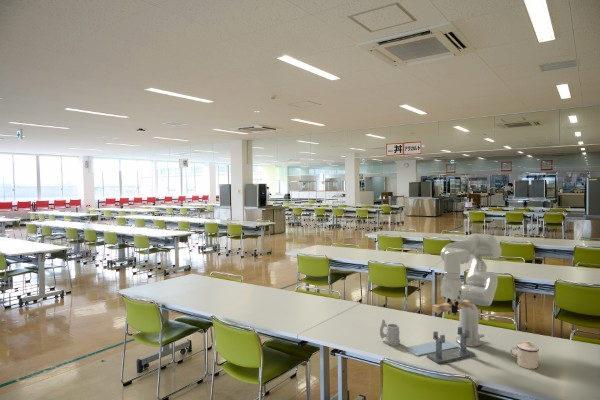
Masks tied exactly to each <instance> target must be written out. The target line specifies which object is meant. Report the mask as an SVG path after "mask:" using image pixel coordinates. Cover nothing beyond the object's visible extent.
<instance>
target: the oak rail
mask: <svg viewBox="0 0 600 400" xmlns="http://www.w3.org/2000/svg"><path fill="white" fill-rule="evenodd" d="M455 302H456V300H455ZM452 305H453V301H451V302H448V303H446V302H444V303H437V304H432V312H434V313H436V314H439V313H444V312H450V311H451V312H452ZM468 307H471V301H469V300H463V302H462V303H459V305H458V310H459V309H462V308H468Z"/></svg>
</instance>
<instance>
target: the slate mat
mask: <svg viewBox="0 0 600 400" xmlns="http://www.w3.org/2000/svg"><path fill="white" fill-rule="evenodd" d="M458 348H460V346H459V345H458V344H455V343H453V342H451V341H448V340H447V339H445V343H442V352H444V351H449V350H453V349H458ZM403 349H404V350H405V351H406V352H409V353H410V354H412V355H413V356H414V357H420V356H421V357H422V356H425V355H426V356H427V355H430V354H435V353H436V340H434V341H431V342H426V343H421V344H416V345H412V346H407V347H406V346H405V347H404V348H403Z"/></svg>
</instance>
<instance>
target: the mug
mask: <svg viewBox="0 0 600 400" xmlns="http://www.w3.org/2000/svg"><path fill="white" fill-rule="evenodd" d="M385 327H386V329H385ZM384 329H385V330H386V331H385V332H386V333H384ZM400 332H401V331H400V326H399V325H398V324H395V323H387V324H386V320H385V319H384V318H383V319H382V320H381V324H380V327H379V336H380V337H381V339H382V340H383V339H384V338H385V343H386V345H387V346H392V347H398V346H399V345H400V342H401V339H400V334H401V333H400Z"/></svg>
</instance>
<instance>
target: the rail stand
mask: <svg viewBox="0 0 600 400" xmlns="http://www.w3.org/2000/svg"><path fill="white" fill-rule="evenodd" d="M432 334H433V335H432V337H433V338H432V339H433V340H434V341H436V352H435V353H431V354H426V358H427V359H428V360H430V361H432V362H433V363H435V364H437V365H442V364H446V363H451V362H454V361H458V360H462V359H467V358H473V357H476V353H475V352H473V351H472V350H469V349H467V346H466V339H467V338H470V331H469V330H465V333H462V327H459V326H458V327H457V335H458V336H459V335H461V337H460V344H459V345H460V346H459V348H454V349H449V350H445V351H442V343H445V340H446V335H445V334H440V335H439V331H435V330H434V331H433V332H432ZM439 336H440V337H439Z"/></svg>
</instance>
